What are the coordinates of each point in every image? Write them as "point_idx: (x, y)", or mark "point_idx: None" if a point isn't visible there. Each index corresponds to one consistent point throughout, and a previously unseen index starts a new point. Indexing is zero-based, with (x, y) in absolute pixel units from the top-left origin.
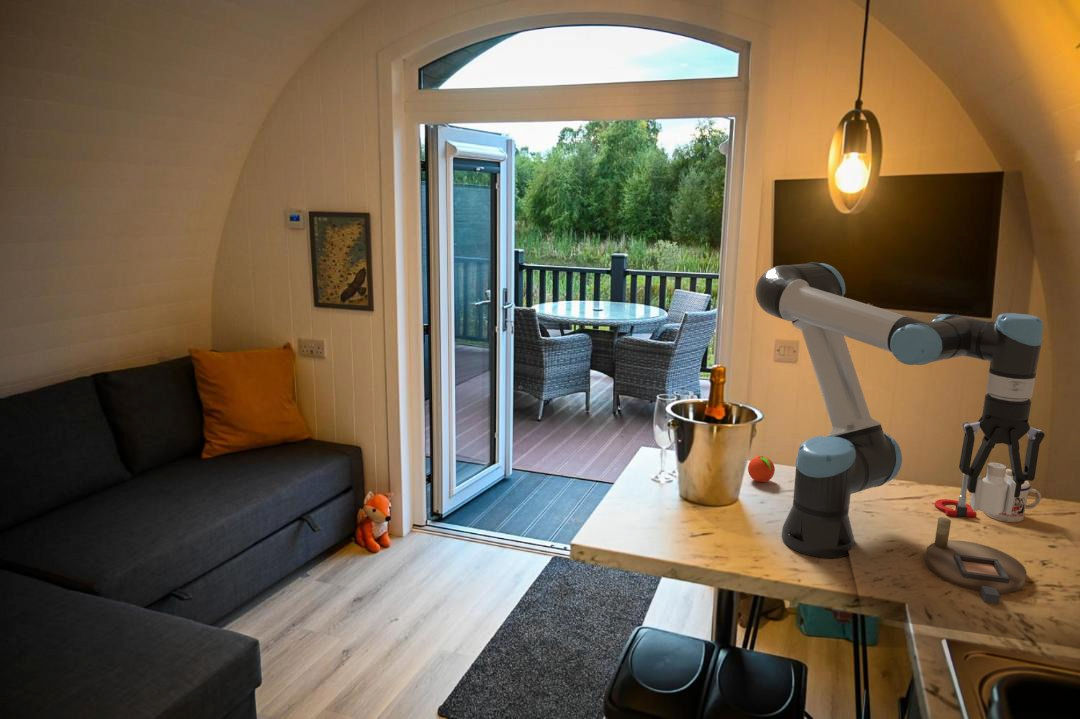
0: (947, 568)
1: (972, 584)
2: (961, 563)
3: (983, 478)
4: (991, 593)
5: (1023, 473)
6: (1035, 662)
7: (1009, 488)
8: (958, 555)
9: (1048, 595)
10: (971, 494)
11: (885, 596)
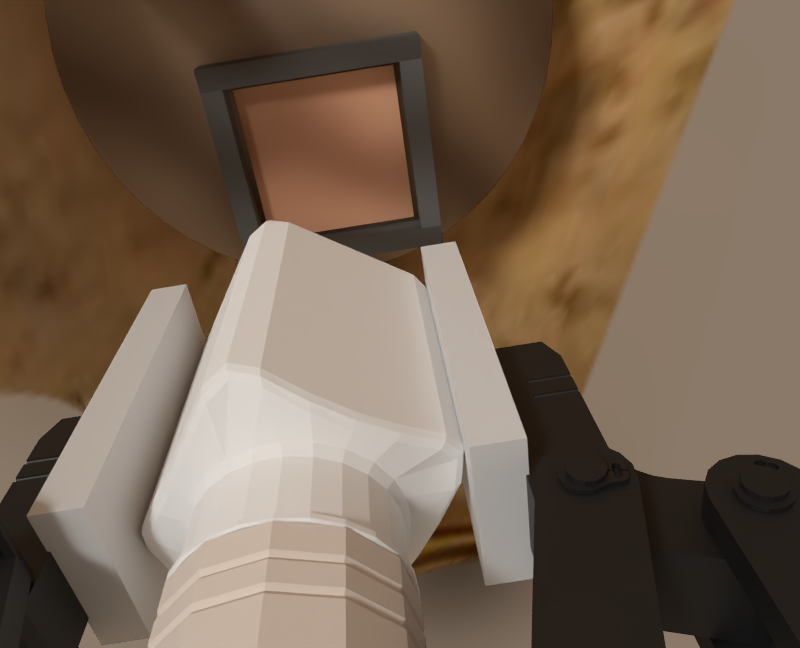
0: (182, 204)
1: None
2: (236, 177)
3: (164, 488)
4: None
5: (685, 589)
6: (450, 530)
7: (465, 481)
8: (217, 81)
9: (612, 98)
10: (122, 346)
11: (7, 386)
